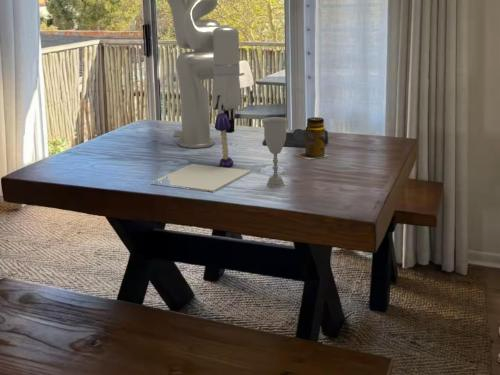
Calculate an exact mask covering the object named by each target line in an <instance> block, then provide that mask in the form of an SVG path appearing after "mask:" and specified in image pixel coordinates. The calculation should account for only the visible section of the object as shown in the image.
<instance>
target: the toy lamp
mask: <svg viewBox="0 0 500 375" xmlns="http://www.w3.org/2000/svg"><path fill="white" fill-rule="evenodd" d="M230 127H231V125H230V122H229V120H228V117H227V115H226V114H225V113H221V114H218V113H217V115H216V117H215V122H214V129H215V130H216V131H220V140H221V149H222V150H221V151H222V158H221V159H220V160H219V167H223V168H230V167H232V166H233V165H234V161H233V159H232V158H231V157H229V150H228V149H229V147H228V141H227V140H228V137H227V133H226V130H228V129H229V128H230Z"/></svg>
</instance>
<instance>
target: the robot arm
mask: <svg viewBox="0 0 500 375" xmlns="http://www.w3.org/2000/svg"><path fill="white" fill-rule="evenodd" d="M166 1H167V3H168V5H169V8H170V11H171V14H172V15H171V16H172V22H173V28H174V34H175V38H176V43H177V44H178V47H179V48H181V49H184V50H185V49H186V50H191V51H185V52H181V53H180V54H179V55H178V56H177V58H176V61H175V66H176V72H177V76H178V77H177V78H178V82H179V92H180V93H179V95H180V111H181V112H180V114H181V130H175V131H174V132H173V135H172V136H173V137H174V138H179V140H178V141H177V144H179V145H180V146H179V145H178V146H179V147H181V146H183V147H182V148H185V147H188V148H187V149H199V148H201V149H202V148H208V147H212V146H214V145H215V139H213V138H211V132H210V130H211V128H210V126H211V125H210V103H209V102H210V100H209V99H210V98H209V92H208V91H209V90H207V88H206V87H205V85H203V83H202V82H201V81H205V80H213V81H212V89H211V90H212V92H211V93H212V94H211V95H212V97H211V98H212V100H211V103H212V104H211V107H212V110H214V111H217V115H218V114H221V113H225V114H226V115H227V117H228V120H229V122H230V125H231V127H230V128H229V129H228V130H226V134H232V133H234V132H235V118H236V112H237V111H238V109H239V108H238V107H240V106H241V103H242V102H241V100H242V94H241V92H242V91H241V84H240V83H241V82H240V75H241V73H240V70H241V69H240V38H239V37H240V36H239V34H240V33H239V30H238V28H237V27H235V26H231V25H227V24H226V25H225V24H220V22H219V21H217V20H216V19H209V18H208V19H202V18H203V17H205V16H207V15H209V14H210V13H212V12H213V11H214V10H215V9H216V7H217V6H218V0H166Z"/></svg>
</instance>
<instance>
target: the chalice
mask: <svg viewBox="0 0 500 375" xmlns="http://www.w3.org/2000/svg"><path fill="white" fill-rule="evenodd" d="M261 120H262V123H263V125H264V127H263V128H264V130H263V131H264V134H263V136H264V139H265V141H266V144H267V146H266V147H267V148H268V150H269V152H270V154H272V155H273V159H272V163H273V166H272V167H271V168H272V170H273V174H272V175H270V177H269V178H268V181H267V183H266V185H265V186H266V187H268V188H272V189H273V188H277V189H278V188H283V187H284V186H286V184H285V182H284V180H283V178H282V176H280V175H279V174H278V169H279V167H278V162H279V160H278V154H280V153H281V151H282V149H283V148H284V147H283V146H284V143H285V140H286V132H287V123H288V121H289V119H288V118H287V117H282V116H280V117H279V116H275V117H274V116H271V117H264V118H262V119H261Z"/></svg>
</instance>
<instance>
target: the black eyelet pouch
mask: <svg viewBox="0 0 500 375" xmlns="http://www.w3.org/2000/svg"><path fill="white" fill-rule="evenodd" d="M328 134H329V131H328V130H326V129H325V146H327V144H328V143H329V135H328ZM262 146H265V147H268V146H267V144H266V141H265V138H264V139H263V141H262ZM283 148H295V149H296V148H297V149H298V148H299V149H306V129H301V128H296V129H294V131H293V132H287V131H286V140H285V143H284V146H283Z"/></svg>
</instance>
